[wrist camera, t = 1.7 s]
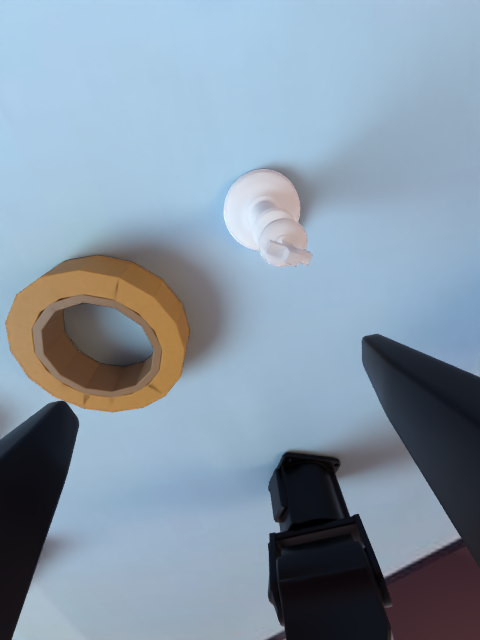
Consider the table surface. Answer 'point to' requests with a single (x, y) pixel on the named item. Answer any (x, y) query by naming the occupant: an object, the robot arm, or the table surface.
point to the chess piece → (267, 217)
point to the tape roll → (75, 367)
